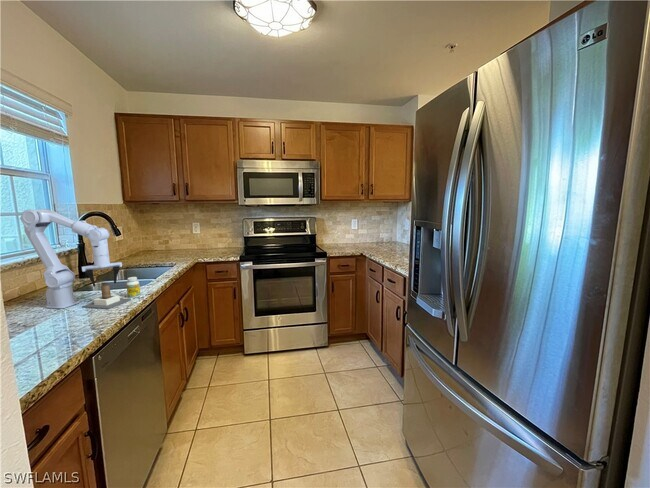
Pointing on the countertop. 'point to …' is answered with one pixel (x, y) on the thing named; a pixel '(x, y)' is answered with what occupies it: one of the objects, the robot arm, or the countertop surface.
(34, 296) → the countertop surface
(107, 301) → the peg socket
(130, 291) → the supplement bottle
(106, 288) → the walnut peg
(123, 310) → the countertop surface
